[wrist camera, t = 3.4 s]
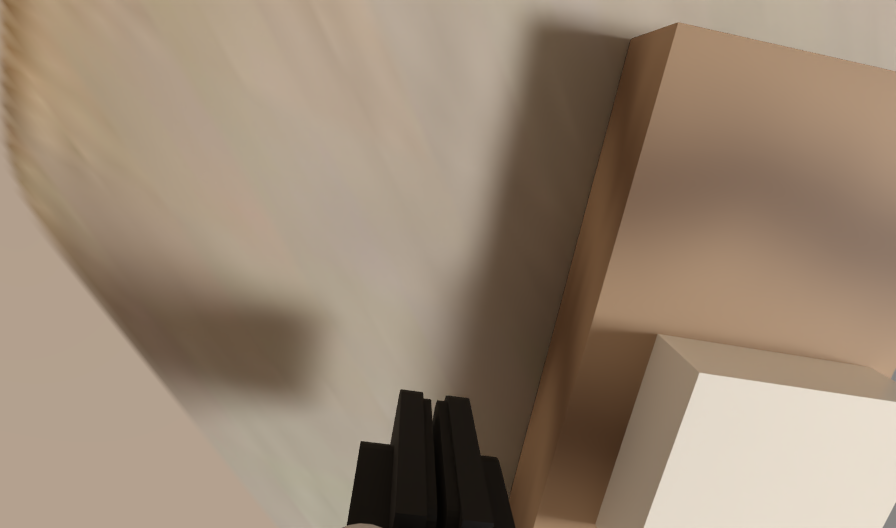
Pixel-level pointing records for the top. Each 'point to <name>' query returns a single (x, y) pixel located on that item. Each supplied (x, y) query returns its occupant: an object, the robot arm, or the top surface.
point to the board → (715, 240)
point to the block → (754, 442)
